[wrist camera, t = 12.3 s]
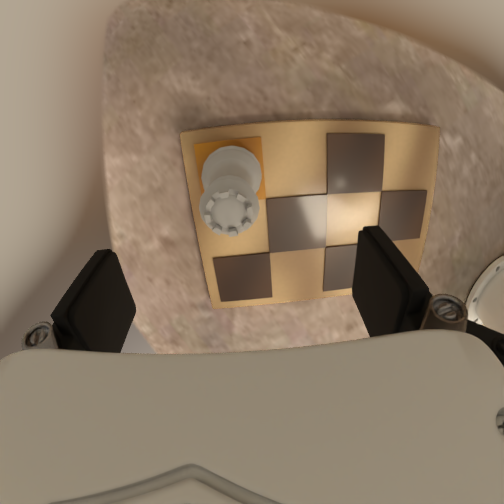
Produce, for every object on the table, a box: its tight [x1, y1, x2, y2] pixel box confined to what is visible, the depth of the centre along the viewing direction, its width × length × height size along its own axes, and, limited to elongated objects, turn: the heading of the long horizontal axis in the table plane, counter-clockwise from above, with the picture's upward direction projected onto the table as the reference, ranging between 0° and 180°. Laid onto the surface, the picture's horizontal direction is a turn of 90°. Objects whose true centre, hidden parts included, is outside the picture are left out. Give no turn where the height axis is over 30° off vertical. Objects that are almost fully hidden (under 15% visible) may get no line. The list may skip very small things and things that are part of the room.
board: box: [180, 119, 440, 309], centre depth 25 cm, size 22×17×1 cm
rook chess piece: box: [199, 145, 262, 237], centre depth 18 cm, size 4×4×8 cm
